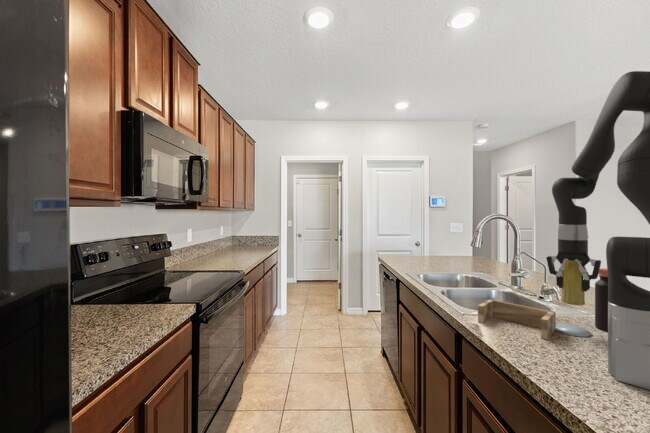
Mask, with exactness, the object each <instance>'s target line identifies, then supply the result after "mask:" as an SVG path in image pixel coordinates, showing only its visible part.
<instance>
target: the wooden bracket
mask: <svg viewBox="0 0 650 433" xmlns="http://www.w3.org/2000/svg"><path fill="white" fill-rule="evenodd" d="M491 318H496V319H497V318H498V319H502V320H506V321H509V322H514V323H517V324H518V323H519V324H523V325H528V326H531V327H536V328H540V339H543V340H549V338H550V337H551V336H552V334H554V332H555V331H556V329H555V325H556V311H552V310H547V309H543V308H542V309H541V308H538V307H532V306H528V305H524V304H523V305H522V304H518V303H512V302H508V301H502V300H497V299H491V298H490V299H487V300H485V301H484V302H482V303H480V304H478V305H477V322H478V323H481V324H484V323H485V322H487V321H489V320H490V319H491Z"/></svg>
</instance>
